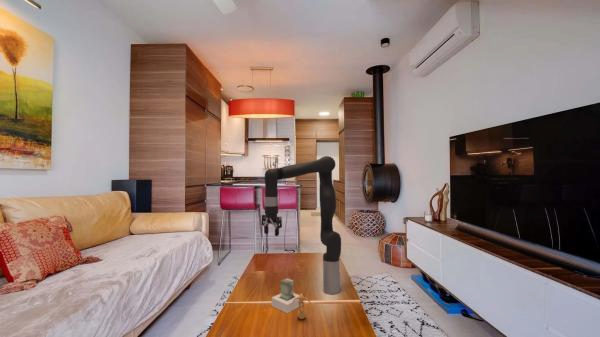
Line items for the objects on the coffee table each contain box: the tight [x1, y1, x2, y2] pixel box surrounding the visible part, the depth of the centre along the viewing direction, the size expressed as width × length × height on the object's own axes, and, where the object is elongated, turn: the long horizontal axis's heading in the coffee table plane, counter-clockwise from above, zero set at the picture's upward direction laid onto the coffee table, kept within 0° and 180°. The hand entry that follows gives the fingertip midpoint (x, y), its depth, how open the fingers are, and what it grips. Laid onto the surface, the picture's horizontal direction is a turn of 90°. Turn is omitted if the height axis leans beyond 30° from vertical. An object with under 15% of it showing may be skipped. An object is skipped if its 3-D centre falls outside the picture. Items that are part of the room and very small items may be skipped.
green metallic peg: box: [280, 278, 294, 301], centre depth 128 cm, size 4×4×12 cm
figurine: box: [292, 292, 312, 320], centre depth 115 cm, size 8×6×12 cm
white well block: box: [271, 292, 303, 314], centre depth 128 cm, size 11×11×4 cm
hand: (271, 234), depth 141 cm, fingers open, 8 cm apart
